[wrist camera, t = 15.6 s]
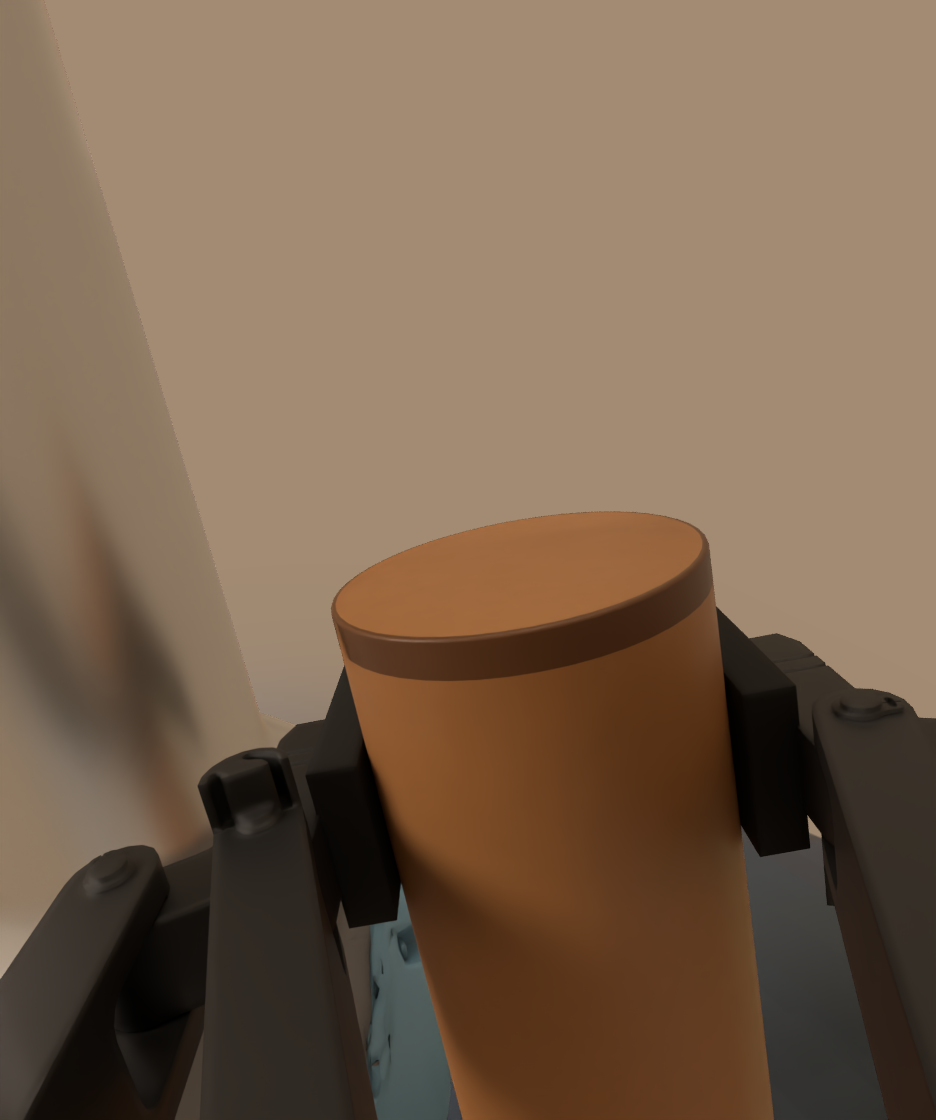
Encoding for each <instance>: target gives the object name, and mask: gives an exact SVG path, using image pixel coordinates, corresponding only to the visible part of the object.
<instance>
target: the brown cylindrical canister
mask: <svg viewBox="0 0 936 1120" xmlns="http://www.w3.org/2000/svg"><path fill="white" fill-rule="evenodd" d="M331 612H332V618H333V622H334V626H335V630H336V634H337V637H338V641H339V645H340V649H341V653H342V657H343V661H344V665H345V668H346V672H347V676H348V680H349V684H350V688H351V692H352V695H353V699H354V703H355V707H356V711H357V715H358V719H359V722H360V726H361V730H362V734H363V738H364V742H365V746H366V749H367V753H368V757H369V761H370V765H371V769H372V772H373V776H374V780H375V784H376V788H377V792H378V796H379V799H380V803H381V807H382V811H383V815H384V819H385V823H386V826H387V830H388V834H389V838H390V842H391V846H392V850H393V853H394V857H395V861H396V865H397V869H398V873H399V877H400V880H401V884H402V888H403V892H404V896H405V900H406V904H407V907H408V911H409V915H410V919H411V923H412V927H413V930H414V934H415V938H416V942H417V946H418V950H419V954H420V957H421V961H422V965H423V969H424V973H425V977H426V981H427V984H428V988H429V992H430V996H431V1000H432V1004H433V1008H434V1011H435V1015H436V1019H437V1023H438V1027H439V1031H440V1035H441V1038H442V1042H443V1046H444V1050H445V1054H446V1058H447V1062H448V1065H449V1069H450V1073H451V1077H452V1081H453V1085H454V1089H455V1092H456V1096H457V1100H458V1104H459V1108H460V1112H461V1115H462V1119H463V1120H774V1115H773V1106H772V1097H771V1089H770V1080H769V1071H768V1062H767V1053H766V1044H765V1036H764V1027H763V1018H762V1009H761V1000H760V991H759V983H758V974H757V965H756V956H755V947H754V938H753V930H752V921H751V912H750V903H749V894H748V885H747V877H746V868H745V859H744V850H743V841H742V832H741V824H740V815H739V806H738V797H737V788H736V779H735V771H734V762H733V753H732V744H731V735H730V726H729V718H728V709H727V700H726V691H725V682H724V673H723V664H722V656H721V647H720V638H719V629H718V620H717V611H716V603H715V594H714V586H713V577H712V567H711V559H710V550H709V543H708V541H707V539H706V537H705V535H704V534H703V533H702V532H701V531H700V530H699V529H698V528H696V527H695V526H693V525H691V524H689V523H687V522H684V521H681V520H678V519H674V518H670V517H666V516H661V515H653V514H647V513H636V512H583V513H570V514H559V515H550V516H543V517H542V516H541V517H535V518H528V519H522V520H516V521H511V522H505V523H500V524H495V525H490V526H485V527H481V528H477V529H473V530H469V531H465V532H461V533H458V534H454V535H450V536H447V537H443V538H440V539H437V540H434V541H430V542H428V543H425V544H422V545H419V546H416V547H413V548H411V549H408V550H406V551H404V552H401V553H398V554H396V555H394V556H392V557H390V558H387V559H385V560H383V561H381V562H379V563H377V564H375V565H373V566H372V567H370V568H368V569H366V570H365V571H364V572H362V573H360V574H359V575H357V576H355V577H354V578H353V579H352V580H350V581H349V582H348V583H346V584H345V586H343V587H342V588H341V589H340V590H339V592H338V593H337V595H336V596H335V598H334V600H333V603H332V607H331Z"/></svg>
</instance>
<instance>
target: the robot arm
mask: <svg viewBox="0 0 936 1120" xmlns="http://www.w3.org/2000/svg"><path fill="white" fill-rule="evenodd" d="M716 611H717V620H718V629H719V638H720V647H721V656H722V664H723V673H724V682H725V691H726V700H727V709H728V718H729V726H730V735H731V744H732V753H733V762H734V771H735V779H736V788H737V797H738V806H739V815H740V824H741V826H742V827H743V829H744V831H745V832H746V834H747V836H748V838H749V839H750V841H751V843H752V844H753V846H754V848H755V849H756V851H757V853H758V854H759V856H760V857H763V856H768V855H774V854H780V853H786V852H791V851H797V850H803V849H809V848H810V841H809V829H808V817H807V815H808V816H809V818H810V819H811V820H812V822H813V823H814V824H815V826H816V827H817V828H818V829H819V831H820V832H821V834H822V847H823V860H824V872H825V885H826V897H827V905H834V906H835V909H836V913H837V917H838V921H839V925H840V929H841V933H842V937H843V941H844V945H845V949H846V953H847V957H848V961H849V965H850V969H851V973H852V977H853V981H854V985H855V989H856V993H857V997H858V1001H859V1005H860V1009H861V1013H862V1017H863V1021H864V1025H865V1029H866V1033H867V1037H868V1041H869V1045H870V1049H871V1053H872V1057H873V1061H874V1065H875V1069H876V1073H877V1077H878V1081H879V1085H880V1089H881V1093H882V1097H883V1101H884V1105H885V1109H886V1113H887V1117H888V1120H936V719H934V718H919V717H918V716H917V714H916V713H915V711H914V709H913V707H912V706H910V704H908V703H907V702H906V701H905V700H904V699H902V698H900V697H898V696H895V695H893V694H891V693H888V692H883V691H878V690H873V689H856V688H854V687H853V686H852V685H850V684H849V683H848V682H847V681H846V680H845V679H843V678H842V677H841V676H840V675H839V674H838V673H836V672H835V671H834V670H833V669H832V668H831V667H829V666H826V665H825V662H823V661H822V660H821V659H820V658H819V657H818V656H814V653H813V652H812V651H810V650H809V649H808V648H807V647H806V646H805V645H803V644H802V643H801V642H800V641H797V640H794V639H791V638H788V637H786V636H783V635H780V634H771V635H766V636H760V637H755V638H748V637H747V636H746V635H745V634H744V633H743V632H742V631H741V630H740V629H739V628H738V627H737V626H736V625H735V624H734V623H732V622H731V621H730V620H729V619H728V618H727V617H726V616H725V615H724V614H723V613H722V612H721V611H720V610H719V609H718V608H717V607H716ZM450 1084H451V1077H450V1069H449V1065H448V1062H447V1058H446V1054H445V1050H444V1046H443V1042H442V1038H441V1035H440V1031H439V1027H438V1023H437V1019H436V1015H435V1011H434V1008H433V1004H432V1000H431V996H430V992H429V988H428V984H427V981H426V977H425V973H424V969H423V965H422V961H421V957H420V954H419V950H418V946H417V942H416V938H415V934H414V930H413V927H412V923H411V919H410V915H409V911H408V907H407V904H406V900H405V896H404V892H403V888H402V884H401V880H400V877H399V873H398V869H397V865H396V861H395V857H394V853H393V850H392V846H391V842H390V838H389V834H388V830H387V826H386V823H385V819H384V815H383V811H382V807H381V803H380V799H379V796H378V792H377V788H376V784H375V780H374V776H373V772H372V769H371V765H370V761H369V757H368V753H367V749H366V746H365V742H364V738H363V734H362V730H361V726H360V722H359V719H358V715H357V711H356V707H355V703H354V699H353V695H352V692H351V688H350V684H349V680H348V676H347V672H346V668H345V665H344V668H343V671H342V674H341V676H340V679H339V682H338V685H337V688H336V690H335V693H334V696H333V699H332V702H331V705H330V707H329V710H328V713H327V715H326V719H325V720H319V721H314V722H308V723H303V724H297V725H294V724H292V723H289V722H287V721H284V720H281V719H278V718H275V717H272V716H269V715H266V714H263V713H260V712H259V709H258V705H257V702H256V699H255V696H254V692H253V689H252V686H251V683H250V679H249V676H248V672H247V670H246V666H245V662H244V659H243V656H242V653H241V650H240V646H239V643H238V639H237V636H236V633H235V630H234V626H233V623H232V620H231V617H230V613H229V610H228V606H227V603H226V600H225V597H224V594H223V590H222V586H221V583H220V580H219V577H218V573H217V570H216V567H215V563H214V560H213V557H212V553H211V550H210V547H209V544H208V540H207V537H206V534H205V530H204V527H203V524H202V521H201V517H200V514H199V511H198V508H197V504H196V501H195V497H194V494H193V491H192V487H191V484H190V481H189V478H188V474H187V471H186V468H185V464H184V461H183V458H182V454H181V451H180V448H179V444H178V441H177V438H176V434H175V431H174V428H173V425H172V421H171V418H170V415H169V412H168V408H167V405H166V401H165V398H164V395H163V392H162V388H161V385H160V382H159V379H158V375H157V372H156V369H155V365H154V362H153V358H152V355H151V352H150V349H149V345H148V342H147V339H146V335H145V332H144V329H143V325H142V322H141V319H140V316H139V312H138V309H137V306H136V302H135V299H134V296H133V293H132V289H131V286H130V282H129V279H128V276H127V273H126V269H125V266H124V263H123V260H122V256H121V253H120V250H119V246H118V243H117V240H116V236H115V233H114V230H113V226H112V223H111V220H110V216H109V213H108V210H107V207H106V203H105V200H104V197H103V193H102V190H101V187H100V184H99V180H98V177H97V173H96V170H95V167H94V164H93V160H92V157H91V154H90V150H89V147H88V144H87V140H86V137H85V134H84V130H83V127H82V124H81V121H80V118H79V114H78V111H77V107H76V104H75V101H74V98H73V94H72V91H71V88H70V84H69V81H68V78H67V74H66V71H65V68H64V64H63V61H62V58H61V55H60V52H59V48H58V45H57V41H56V38H55V35H54V31H53V28H52V25H51V22H50V18H49V15H48V12H47V9H46V5H45V2H44V0H0V1120H447V1116H448V1111H449V1103H450Z"/></svg>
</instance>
